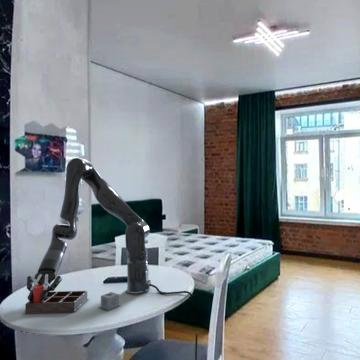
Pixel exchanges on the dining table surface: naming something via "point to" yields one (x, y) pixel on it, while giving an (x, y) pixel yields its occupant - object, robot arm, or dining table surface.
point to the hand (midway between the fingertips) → (35, 300)
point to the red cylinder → (37, 293)
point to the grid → (58, 302)
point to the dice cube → (109, 301)
